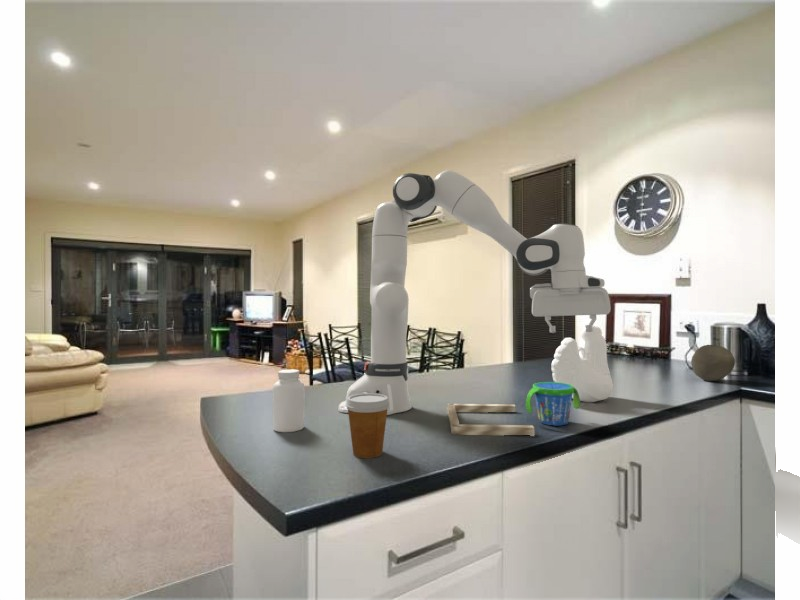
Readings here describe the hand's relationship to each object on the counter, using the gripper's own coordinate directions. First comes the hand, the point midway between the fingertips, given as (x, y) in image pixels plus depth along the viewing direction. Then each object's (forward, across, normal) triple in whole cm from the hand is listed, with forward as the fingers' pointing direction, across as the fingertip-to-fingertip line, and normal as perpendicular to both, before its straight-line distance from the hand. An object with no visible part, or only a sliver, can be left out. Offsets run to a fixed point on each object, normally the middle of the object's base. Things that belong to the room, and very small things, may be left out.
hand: (570, 332), depth 117 cm
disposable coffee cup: (+22, -47, -38) cm, 65 cm away
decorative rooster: (+25, +4, +27) cm, 37 cm away
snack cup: (+24, -6, -4) cm, 25 cm away
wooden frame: (+23, -24, -7) cm, 34 cm away
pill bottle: (+22, -73, -26) cm, 80 cm away
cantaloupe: (+28, +64, +77) cm, 104 cm away
